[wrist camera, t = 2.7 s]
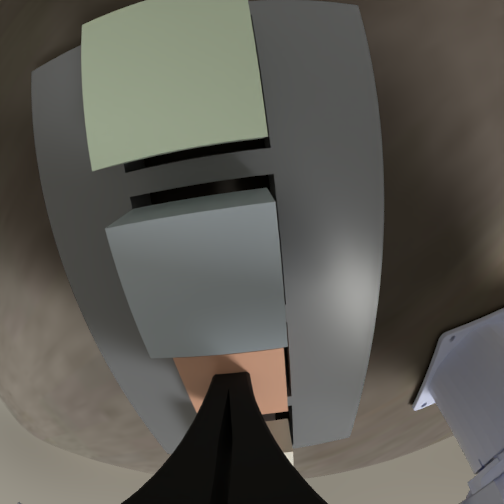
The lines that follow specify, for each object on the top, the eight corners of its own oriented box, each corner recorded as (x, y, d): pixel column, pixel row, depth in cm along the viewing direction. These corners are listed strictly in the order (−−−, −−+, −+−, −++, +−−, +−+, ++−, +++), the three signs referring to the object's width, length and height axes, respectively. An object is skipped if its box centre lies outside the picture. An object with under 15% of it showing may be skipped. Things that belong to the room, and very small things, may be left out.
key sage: (243, 27, 7) (244, -19, 4) (258, 139, 8) (268, 136, 5) (124, 52, 7) (82, 25, 4) (136, 161, 8) (92, 171, 5)
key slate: (263, 182, 9) (275, 202, 6) (275, 293, 10) (287, 346, 7) (143, 202, 9) (104, 228, 6) (170, 305, 10) (150, 358, 7)
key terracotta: (274, 303, 12) (283, 348, 9) (280, 366, 14) (288, 411, 11) (185, 313, 12) (173, 358, 9) (204, 373, 14) (199, 418, 11)
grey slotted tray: (339, 23, 8) (358, 5, 6) (342, 414, 16) (349, 436, 14) (58, 78, 8) (31, 71, 6) (171, 431, 16) (167, 453, 14)
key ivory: (285, 403, 13) (293, 451, 10) (287, 438, 14) (293, 478, 11) (208, 410, 13) (204, 457, 10) (223, 444, 14) (222, 483, 11)
